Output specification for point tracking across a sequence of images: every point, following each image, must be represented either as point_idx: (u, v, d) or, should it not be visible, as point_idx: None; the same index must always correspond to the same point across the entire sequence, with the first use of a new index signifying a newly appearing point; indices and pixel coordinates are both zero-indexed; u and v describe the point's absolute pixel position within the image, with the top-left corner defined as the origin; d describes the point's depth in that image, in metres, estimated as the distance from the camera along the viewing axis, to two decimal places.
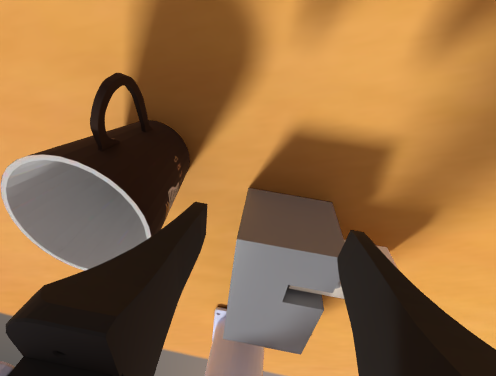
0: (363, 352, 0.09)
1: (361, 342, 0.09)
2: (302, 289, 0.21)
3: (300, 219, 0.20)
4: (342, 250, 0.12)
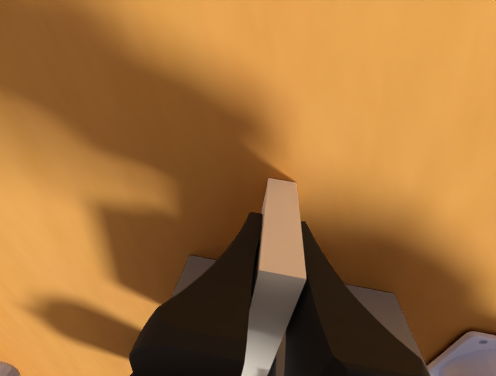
0: (289, 337, 0.09)
1: (289, 328, 0.09)
2: None
3: None
4: None
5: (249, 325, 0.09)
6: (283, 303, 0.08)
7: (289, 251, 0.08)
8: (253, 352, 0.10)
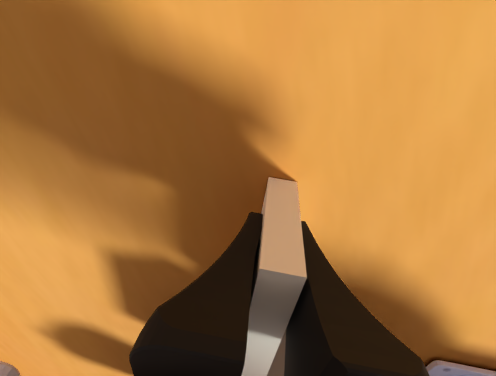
0: (289, 337, 0.09)
1: (289, 328, 0.09)
2: None
3: None
4: None
5: (249, 323, 0.09)
6: (283, 302, 0.08)
7: (289, 250, 0.08)
8: (253, 351, 0.10)
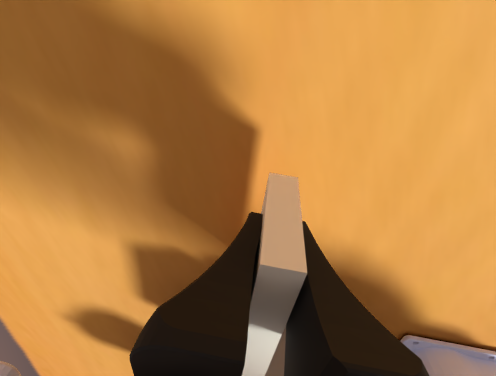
0: (288, 337, 0.09)
1: (288, 328, 0.09)
2: None
3: None
4: None
5: (250, 318, 0.09)
6: (284, 297, 0.08)
7: (290, 246, 0.08)
8: (254, 345, 0.10)
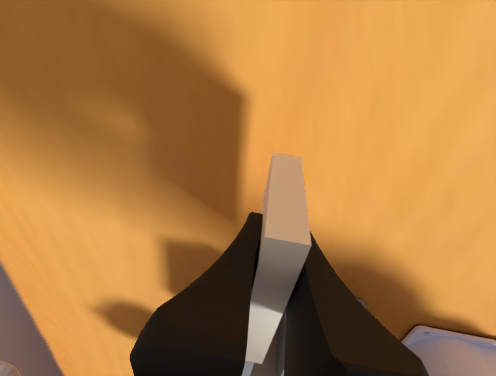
0: (288, 337, 0.09)
1: (288, 328, 0.09)
2: (261, 355, 0.13)
3: None
4: None
5: (254, 292, 0.09)
6: (287, 270, 0.08)
7: (294, 221, 0.08)
8: (258, 319, 0.11)
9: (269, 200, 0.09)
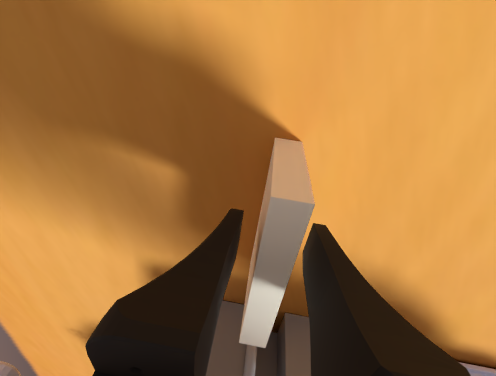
0: (315, 342, 0.09)
1: (314, 333, 0.09)
2: (265, 336, 0.13)
3: None
4: (306, 243, 0.12)
5: (259, 260, 0.10)
6: (292, 233, 0.09)
7: (298, 186, 0.09)
8: (262, 292, 0.11)
9: (273, 170, 0.10)
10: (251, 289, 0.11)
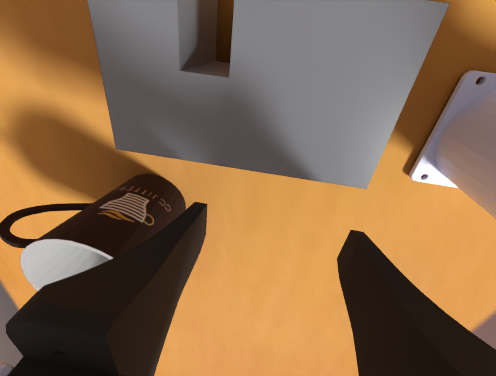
0: (363, 352, 0.09)
1: (361, 342, 0.09)
2: None
3: None
4: (342, 250, 0.12)
5: None
6: None
7: None
8: None
9: None
10: None
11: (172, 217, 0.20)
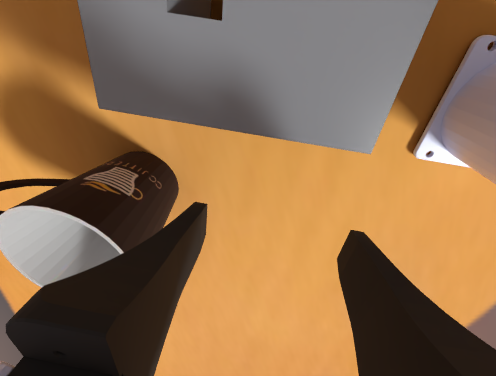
0: (363, 352, 0.09)
1: (361, 342, 0.09)
2: None
3: None
4: (342, 250, 0.12)
5: None
6: None
7: None
8: None
9: None
10: None
11: (163, 195, 0.19)
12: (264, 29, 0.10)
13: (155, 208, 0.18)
